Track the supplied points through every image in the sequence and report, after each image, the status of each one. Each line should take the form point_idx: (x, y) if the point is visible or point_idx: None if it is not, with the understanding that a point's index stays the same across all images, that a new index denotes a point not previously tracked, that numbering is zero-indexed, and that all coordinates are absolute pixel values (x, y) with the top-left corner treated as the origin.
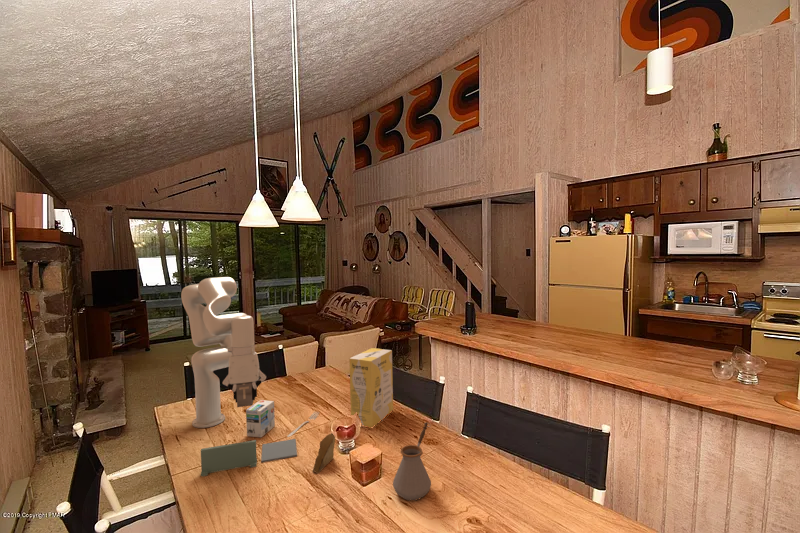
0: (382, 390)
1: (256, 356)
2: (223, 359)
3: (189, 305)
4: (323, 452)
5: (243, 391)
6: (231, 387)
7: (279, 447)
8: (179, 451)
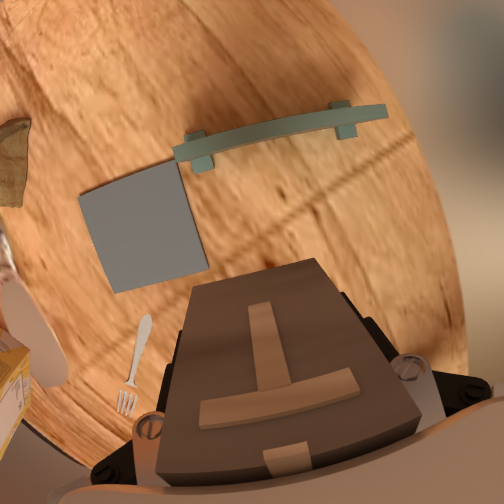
0: None
1: None
2: None
3: None
4: None
5: (279, 359)
6: (445, 389)
7: (142, 243)
8: (438, 252)
